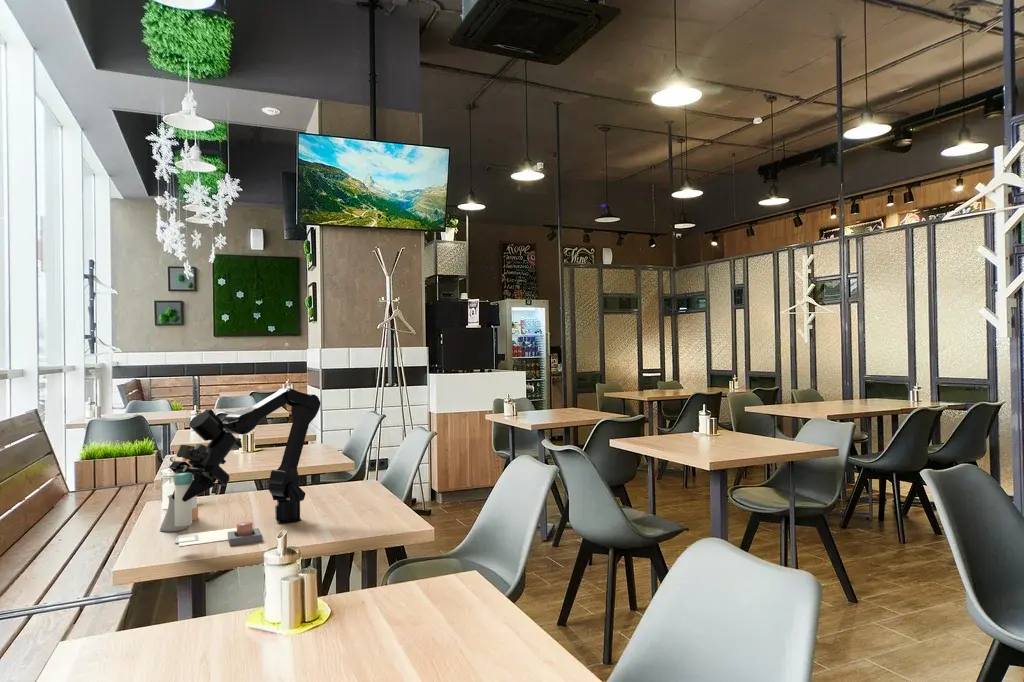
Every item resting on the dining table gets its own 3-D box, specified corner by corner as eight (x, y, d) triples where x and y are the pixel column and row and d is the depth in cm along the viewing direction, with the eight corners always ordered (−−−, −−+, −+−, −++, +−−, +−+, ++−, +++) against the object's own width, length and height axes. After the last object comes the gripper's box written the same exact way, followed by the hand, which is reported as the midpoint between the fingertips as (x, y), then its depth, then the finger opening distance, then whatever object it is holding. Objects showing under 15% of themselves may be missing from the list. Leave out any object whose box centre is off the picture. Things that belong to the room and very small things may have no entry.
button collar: (258, 534, 183) (258, 528, 183) (262, 541, 176) (262, 534, 176) (227, 538, 179) (227, 531, 179) (230, 545, 172) (230, 539, 172)
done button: (251, 532, 180) (251, 521, 180) (253, 535, 177) (253, 524, 177) (236, 534, 178) (236, 523, 178) (237, 537, 175) (237, 526, 175)
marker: (191, 521, 172) (191, 472, 172) (192, 525, 168) (192, 474, 168) (174, 523, 170) (174, 473, 170) (174, 527, 166) (174, 476, 166)
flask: (176, 533, 186) (176, 498, 186) (154, 532, 187) (154, 497, 187) (193, 526, 193) (193, 492, 193) (172, 525, 194) (172, 492, 194)
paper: (239, 528, 190) (239, 527, 190) (243, 538, 179) (243, 537, 179) (175, 536, 182) (175, 535, 182) (175, 547, 171) (175, 545, 171)
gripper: (175, 431, 177) (135, 478, 168) (219, 434, 168) (179, 485, 158) (202, 455, 184) (164, 502, 174) (245, 460, 175) (208, 510, 165)
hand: (178, 499), depth 168 cm, fingers closed on marker, 4 cm apart
